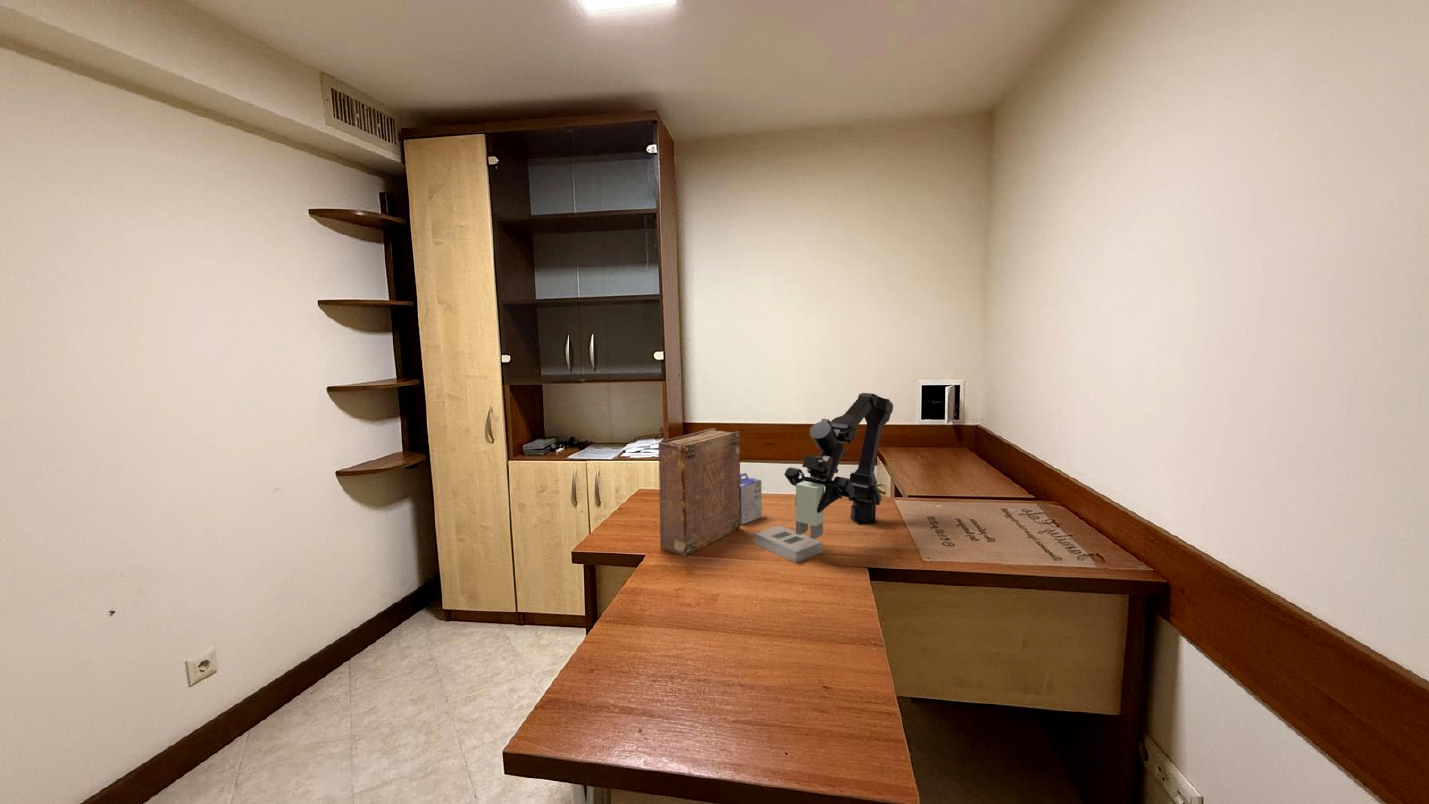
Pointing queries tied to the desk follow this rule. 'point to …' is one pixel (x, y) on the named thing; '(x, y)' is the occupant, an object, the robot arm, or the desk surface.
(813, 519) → the clip
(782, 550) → the grey slotted base
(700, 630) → the desk surface
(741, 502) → the ink cartridge box
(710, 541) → the book
